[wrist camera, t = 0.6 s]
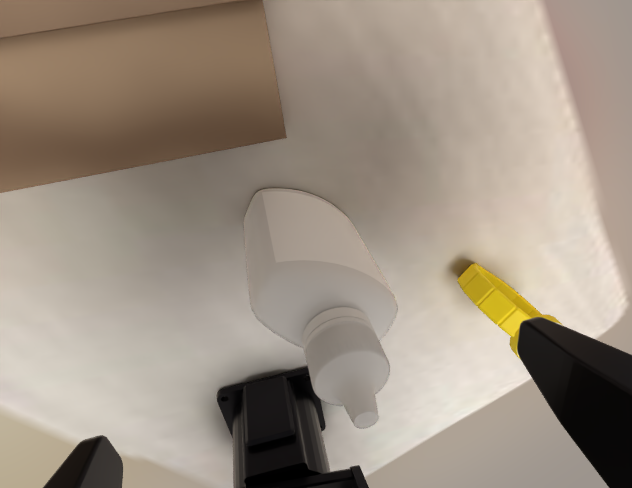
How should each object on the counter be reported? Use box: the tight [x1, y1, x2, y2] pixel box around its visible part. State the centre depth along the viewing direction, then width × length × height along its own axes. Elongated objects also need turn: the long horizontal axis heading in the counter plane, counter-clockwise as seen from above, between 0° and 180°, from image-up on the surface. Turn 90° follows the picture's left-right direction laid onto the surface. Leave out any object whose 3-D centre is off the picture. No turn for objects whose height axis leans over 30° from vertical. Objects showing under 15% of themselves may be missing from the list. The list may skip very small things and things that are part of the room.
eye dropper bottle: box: [243, 188, 398, 428], centre depth 16 cm, size 4×6×12 cm
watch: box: [458, 263, 563, 358], centre depth 23 cm, size 6×3×6 cm, turn 54°
